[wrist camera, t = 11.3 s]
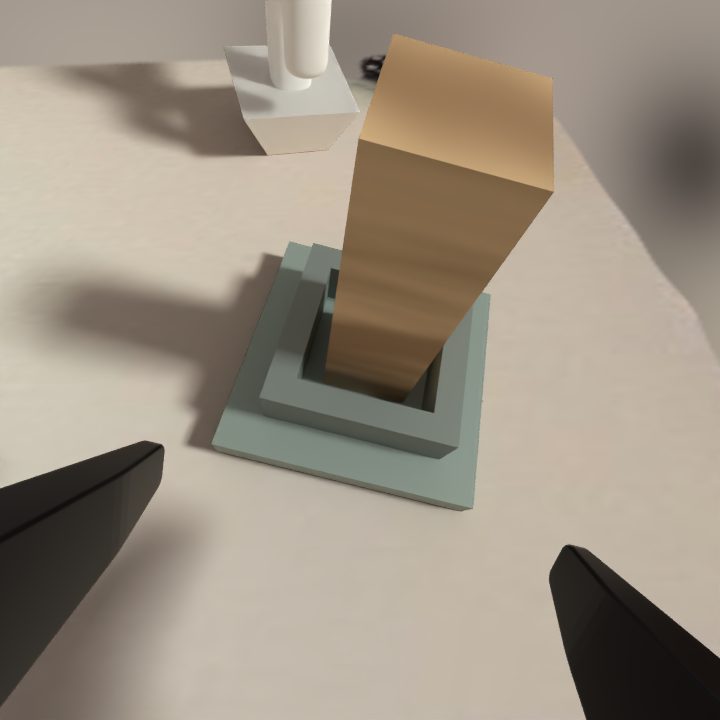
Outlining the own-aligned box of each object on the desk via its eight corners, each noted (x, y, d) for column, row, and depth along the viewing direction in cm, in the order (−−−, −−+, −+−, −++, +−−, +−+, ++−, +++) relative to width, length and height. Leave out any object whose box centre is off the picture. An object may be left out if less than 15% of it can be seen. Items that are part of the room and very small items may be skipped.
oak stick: (402, 403, 20) (553, 191, 8) (323, 383, 19) (358, 138, 8) (414, 334, 21) (552, 78, 10) (341, 315, 21) (393, 33, 10)
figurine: (253, 183, 26) (206, -197, 13) (229, 92, 30) (171, -281, 16) (357, 173, 28) (411, -171, 15) (322, 88, 32) (340, -253, 18)
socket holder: (460, 511, 19) (498, 503, 16) (217, 451, 19) (198, 429, 15) (479, 308, 25) (510, 267, 21) (290, 258, 24) (288, 208, 21)
